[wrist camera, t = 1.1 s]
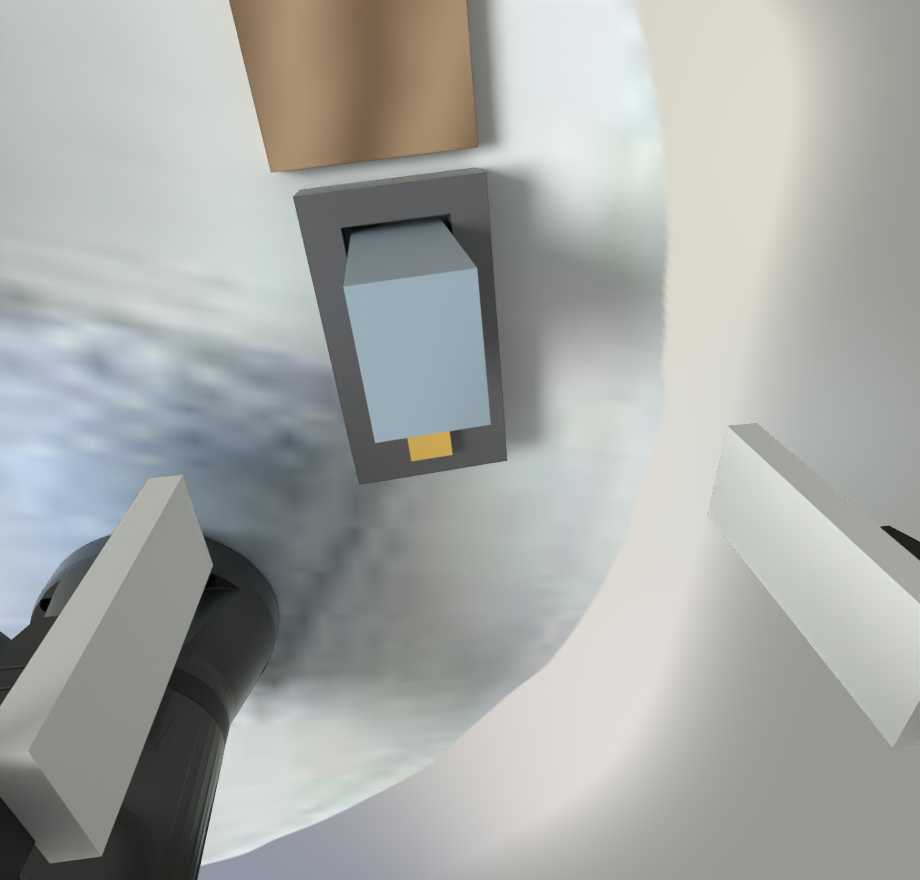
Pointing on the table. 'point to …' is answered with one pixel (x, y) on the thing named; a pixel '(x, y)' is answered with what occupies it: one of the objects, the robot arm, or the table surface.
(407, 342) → the light blue tall block
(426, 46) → the walnut board
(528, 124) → the table surface
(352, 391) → the dark grey holder
